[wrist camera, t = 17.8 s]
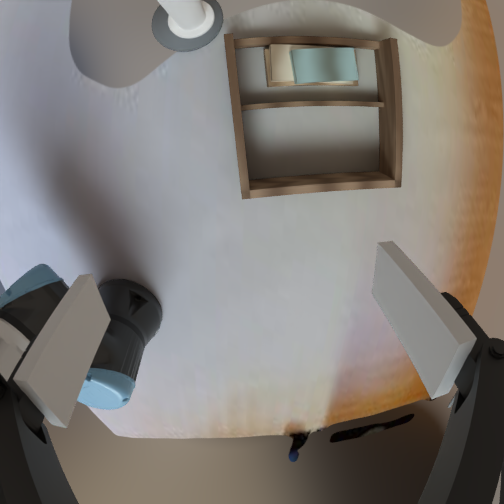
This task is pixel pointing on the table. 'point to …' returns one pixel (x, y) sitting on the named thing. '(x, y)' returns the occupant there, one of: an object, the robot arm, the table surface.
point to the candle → (188, 17)
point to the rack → (387, 105)
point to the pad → (184, 44)
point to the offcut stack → (310, 65)
